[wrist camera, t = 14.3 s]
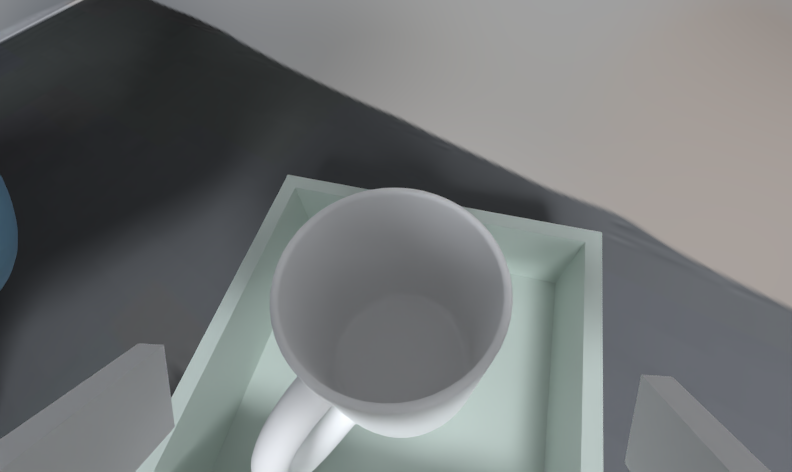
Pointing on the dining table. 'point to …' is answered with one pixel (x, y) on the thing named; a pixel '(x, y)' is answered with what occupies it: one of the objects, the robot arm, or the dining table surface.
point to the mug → (381, 322)
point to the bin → (483, 411)
